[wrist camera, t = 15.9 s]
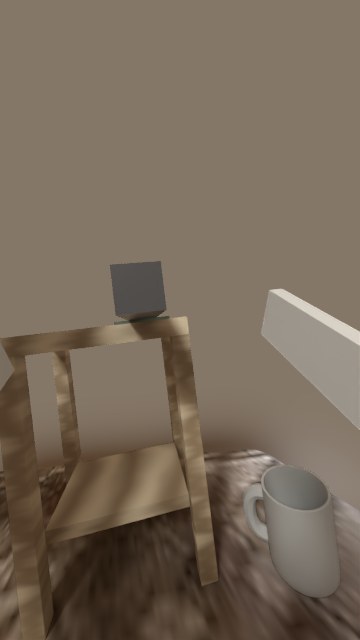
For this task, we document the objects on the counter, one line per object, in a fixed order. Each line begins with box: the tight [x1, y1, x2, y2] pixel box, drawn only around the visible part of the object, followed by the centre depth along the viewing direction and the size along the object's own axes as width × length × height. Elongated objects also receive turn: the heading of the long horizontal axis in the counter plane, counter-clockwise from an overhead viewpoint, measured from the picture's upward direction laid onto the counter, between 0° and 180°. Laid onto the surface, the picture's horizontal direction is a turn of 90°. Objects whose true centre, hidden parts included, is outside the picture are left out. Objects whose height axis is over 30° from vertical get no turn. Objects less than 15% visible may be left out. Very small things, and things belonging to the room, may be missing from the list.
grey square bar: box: [110, 261, 166, 321], centre depth 26 cm, size 3×26×3 cm, turn 10°
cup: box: [243, 465, 340, 598], centre depth 26 cm, size 7×10×9 cm
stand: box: [0, 316, 219, 640], centre depth 31 cm, size 20×16×30 cm
